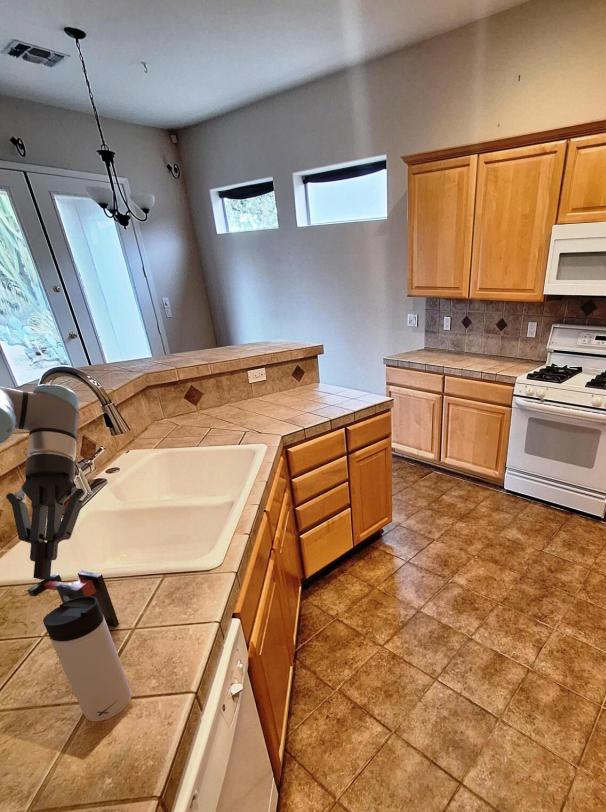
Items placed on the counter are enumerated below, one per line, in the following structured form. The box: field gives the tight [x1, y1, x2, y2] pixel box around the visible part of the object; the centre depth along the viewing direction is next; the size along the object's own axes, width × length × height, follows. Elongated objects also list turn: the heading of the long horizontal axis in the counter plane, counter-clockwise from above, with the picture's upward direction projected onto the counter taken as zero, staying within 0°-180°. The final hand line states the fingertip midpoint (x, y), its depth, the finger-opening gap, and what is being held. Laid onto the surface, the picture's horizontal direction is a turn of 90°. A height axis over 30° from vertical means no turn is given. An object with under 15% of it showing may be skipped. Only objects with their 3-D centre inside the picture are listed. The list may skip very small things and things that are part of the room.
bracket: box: [56, 570, 120, 628], centre depth 77 cm, size 12×9×13 cm
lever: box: [26, 573, 96, 597], centre depth 76 cm, size 11×5×2 cm, turn 75°
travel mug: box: [42, 596, 133, 722], centre depth 62 cm, size 6×7×20 cm
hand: (41, 578), depth 78 cm, fingers closed
